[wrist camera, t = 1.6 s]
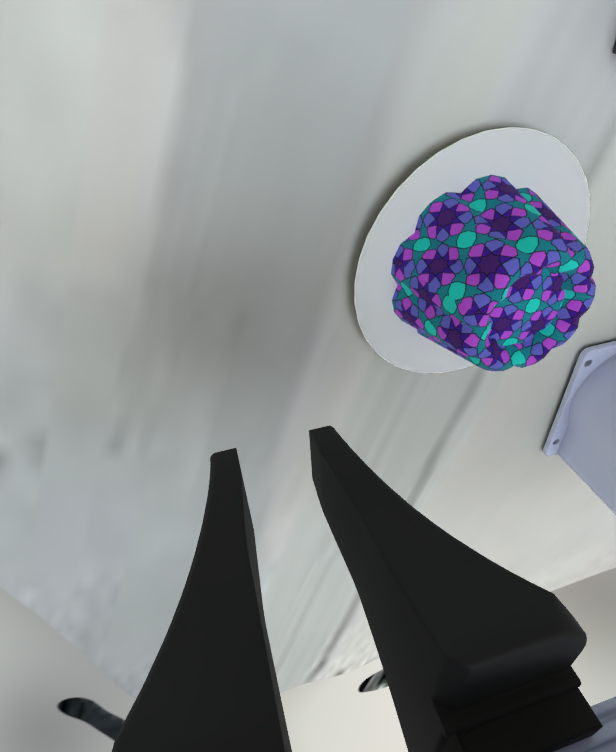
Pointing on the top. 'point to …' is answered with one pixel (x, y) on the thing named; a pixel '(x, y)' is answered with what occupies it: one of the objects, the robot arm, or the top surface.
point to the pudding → (479, 256)
